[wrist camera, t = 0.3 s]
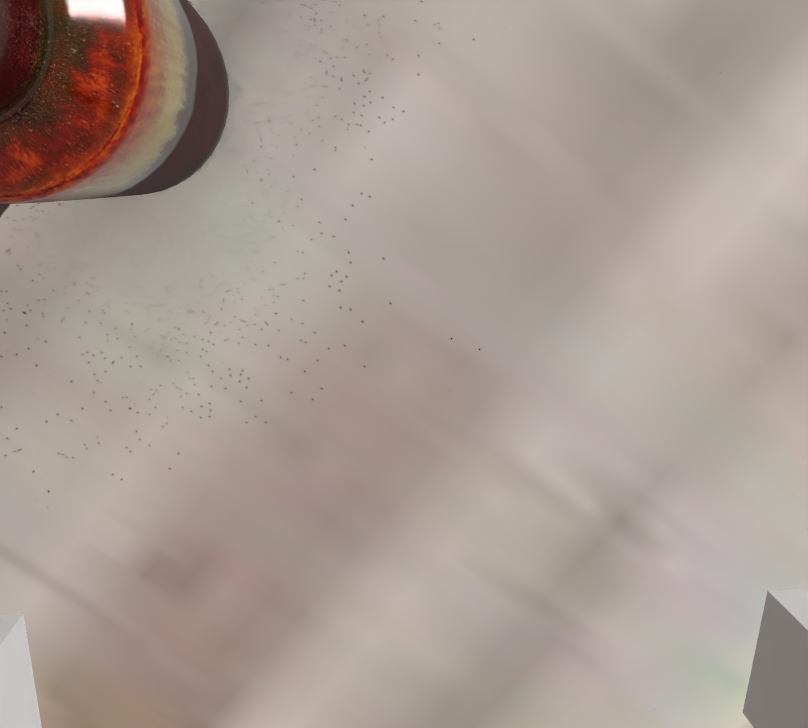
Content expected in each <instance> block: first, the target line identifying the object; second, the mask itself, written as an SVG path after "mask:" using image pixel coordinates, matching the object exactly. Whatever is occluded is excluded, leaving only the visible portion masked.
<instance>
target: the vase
mask: <svg viewBox="0 0 808 728" xmlns="http://www.w3.org/2000/svg"><path fill="white" fill-rule="evenodd" d="M228 104H229V87H228V78H227V72H226V68H225V64H224V60H223V56H222V54H221V52H220V49H219V47H218V44H217V42H216V40H215V38H214V36H213V34H212V33H211V31H210V29H209V28H208V26H207V24H206V23H205V22H204V20H203V19H202V18H201V16H200V15H199V14H198V13H197V11H196V10H195V9H194V8H193V7H192V6H191V4H190V3H189V2H188V1H187V0H0V204H16V203H37V202H54V201H67V200H80V199H93V198H106V197H118V196H131V195H142V194H149V193H154V192H158V191H163V190H165V189H168V188H170V187H173V186H175V185H177V184H179V183H181V182H182V181H184V180H186V179H187V178H189V177H190V176H191V175H193V174H194V173H195V172H196V171H197V170H198V169H200V168H201V167H202V166H203V164H204V163H205V162H206V161H207V159H208V158H209V157H210V156H211V155H212V153H213V151H214V149H215V148H216V146H217V144H218V142H219V141H220V138H221V135H222V132H223V130H224V127H225V123H226V118H227V113H228Z"/></svg>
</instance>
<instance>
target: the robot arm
mask: <svg viewBox="0 0 808 728" xmlns="http://www.w3.org/2000/svg"><path fill="white" fill-rule="evenodd" d="M743 713H744V715H745V716H746V717H747V719H748V720H749V721H750V723H751V724H752V726H753V727H754V728H808V590H807V589H804V590H772V591H768V592H767V596H766V601H765V606H764V611H763V616H762V621H761V626H760V631H759V636H758V640H757V645H756V650H755V655H754V660H753V665H752V670H751V675H750V680H749V684H748V689H747V694H746V699H745V704H744V709H743ZM0 728H42V727H41V721H40V715H39V709H38V703H37V696H36V690H35V684H34V678H33V671H32V665H31V659H30V653H29V647H28V640H27V634H26V628H25V622H24V615H23V614H0Z"/></svg>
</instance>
